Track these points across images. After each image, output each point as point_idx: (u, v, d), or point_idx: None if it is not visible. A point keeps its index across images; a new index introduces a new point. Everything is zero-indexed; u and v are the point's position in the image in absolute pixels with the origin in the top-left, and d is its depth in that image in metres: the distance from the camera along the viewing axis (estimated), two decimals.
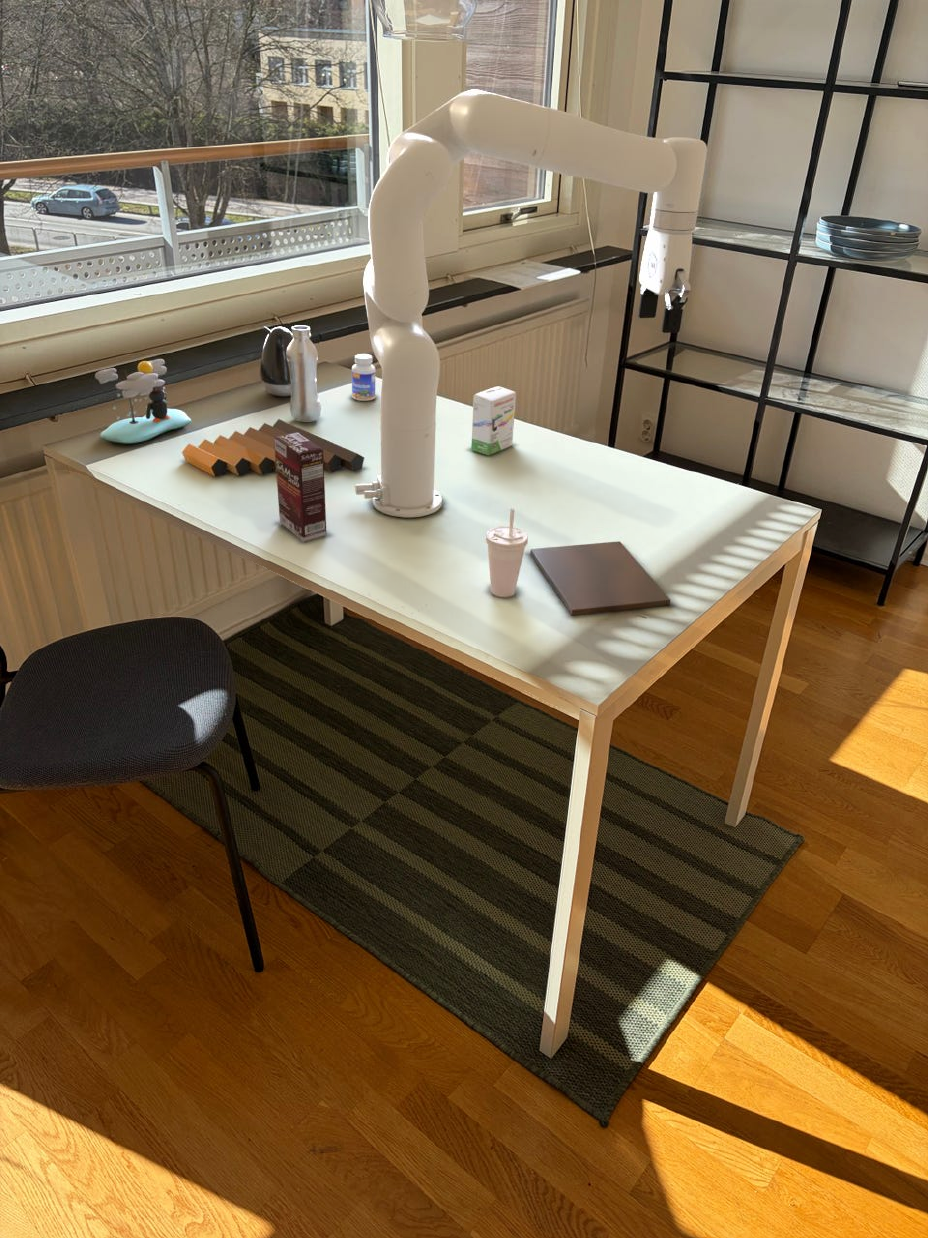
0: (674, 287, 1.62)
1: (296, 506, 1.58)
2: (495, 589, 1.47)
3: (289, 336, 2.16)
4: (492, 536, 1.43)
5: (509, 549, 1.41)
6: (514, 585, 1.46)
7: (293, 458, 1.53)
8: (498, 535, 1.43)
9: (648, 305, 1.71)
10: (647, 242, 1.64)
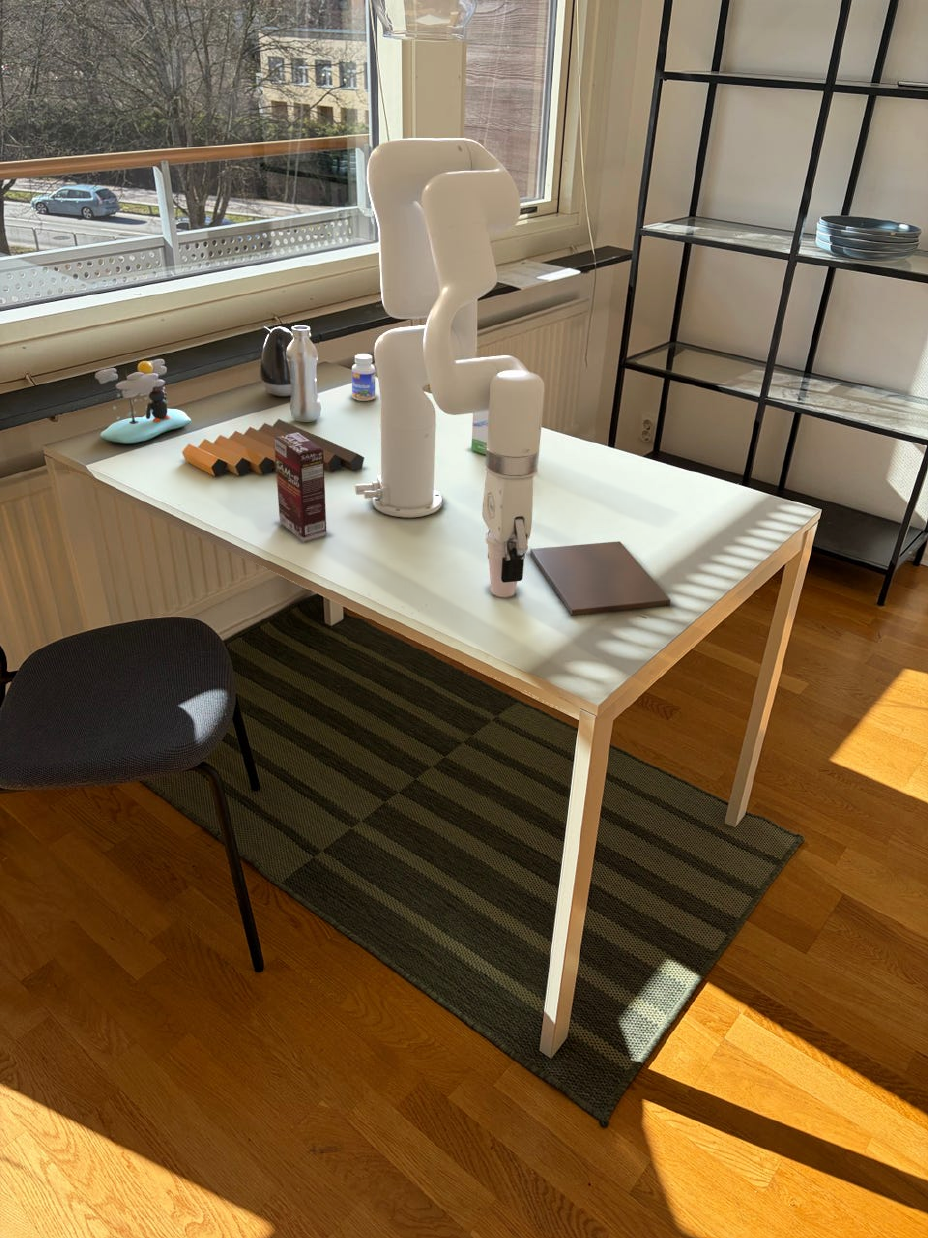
0: None
1: (296, 506, 1.58)
2: (495, 589, 1.47)
3: (289, 336, 2.16)
4: (492, 536, 1.43)
5: None
6: (514, 585, 1.46)
7: (293, 458, 1.53)
8: None
9: None
10: (486, 477, 1.41)
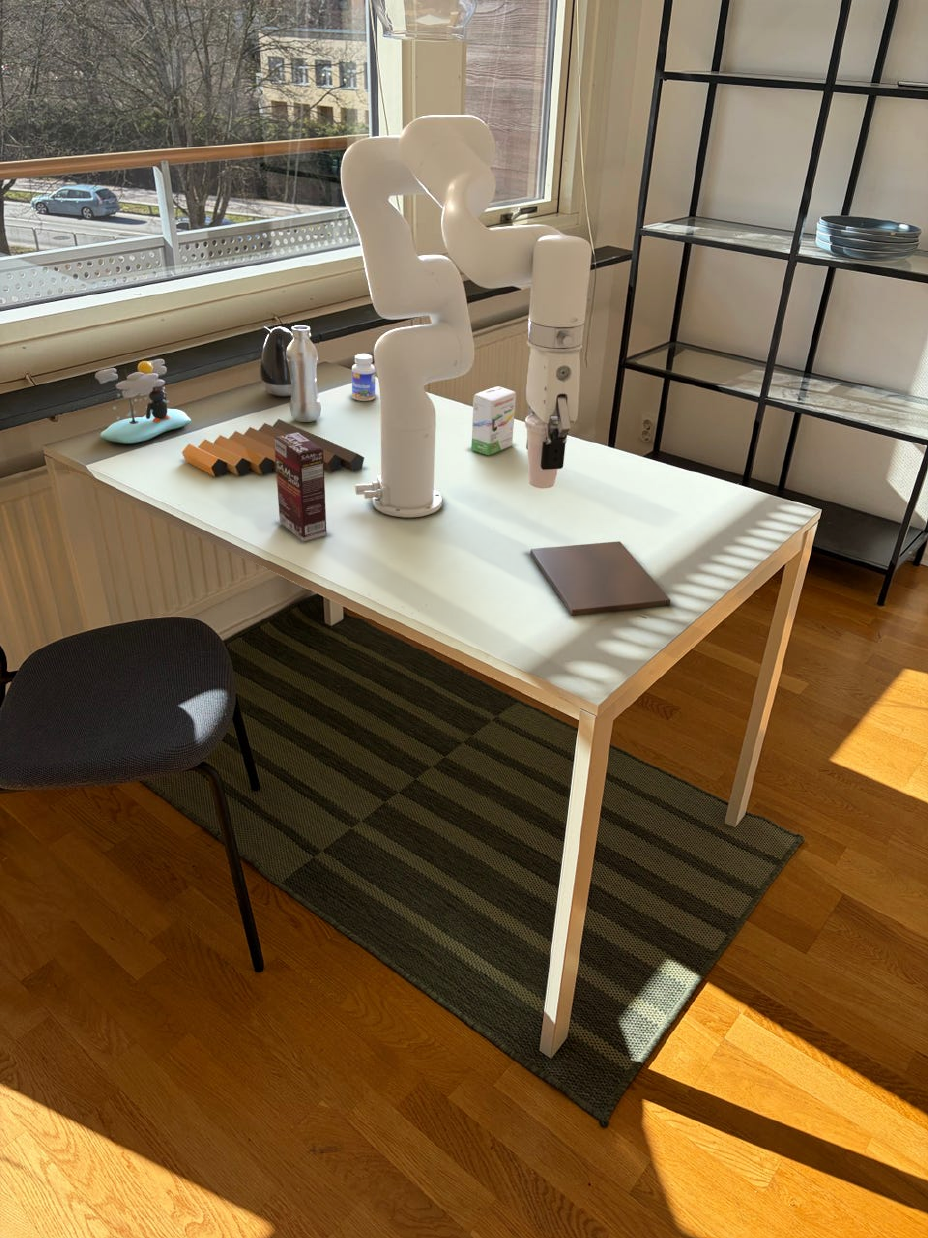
0: None
1: (296, 506, 1.58)
2: None
3: (289, 336, 2.16)
4: None
5: None
6: None
7: (293, 458, 1.53)
8: (556, 419, 1.36)
9: None
10: None
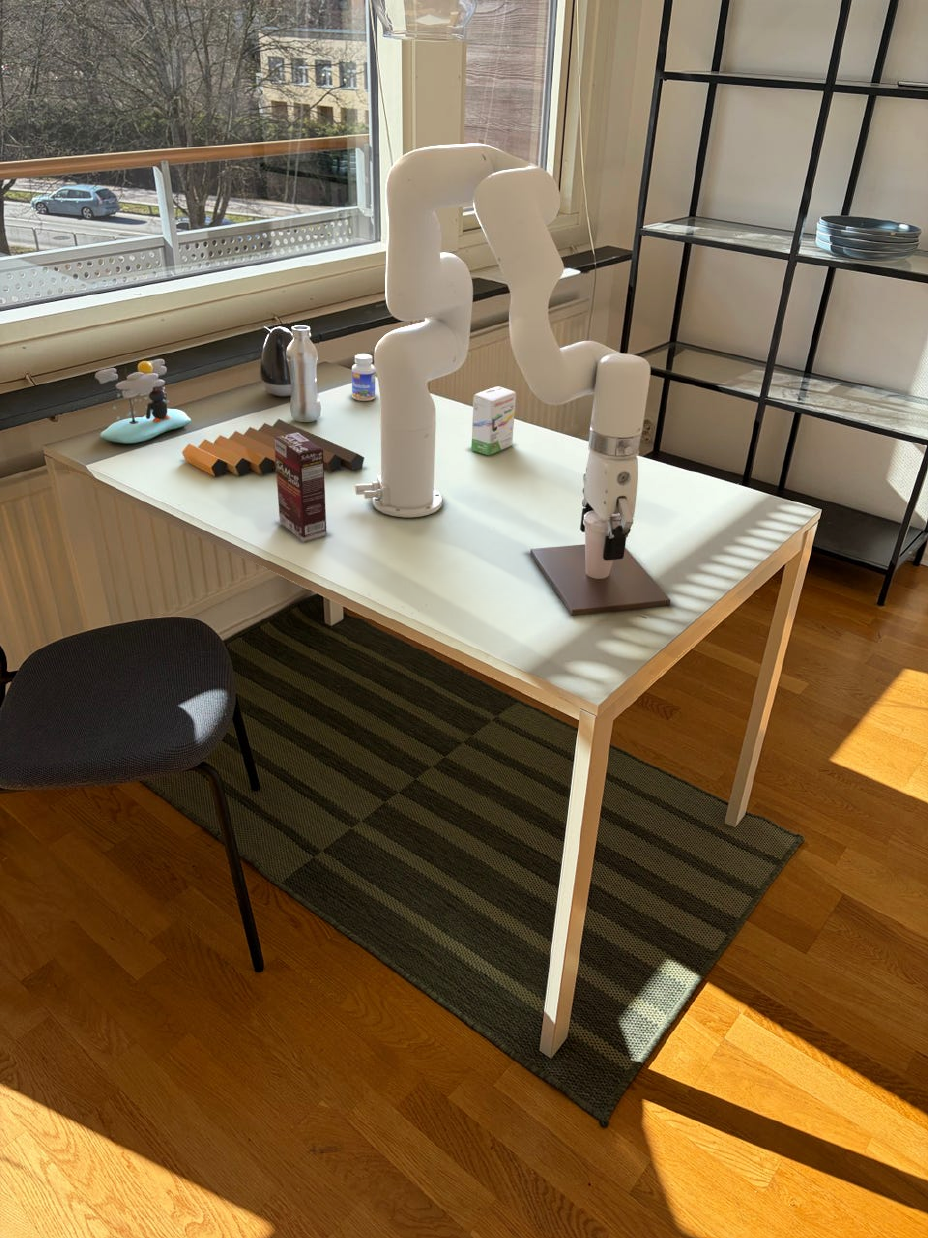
0: None
1: (296, 506, 1.58)
2: None
3: (289, 336, 2.16)
4: None
5: None
6: None
7: (293, 458, 1.53)
8: None
9: None
10: None
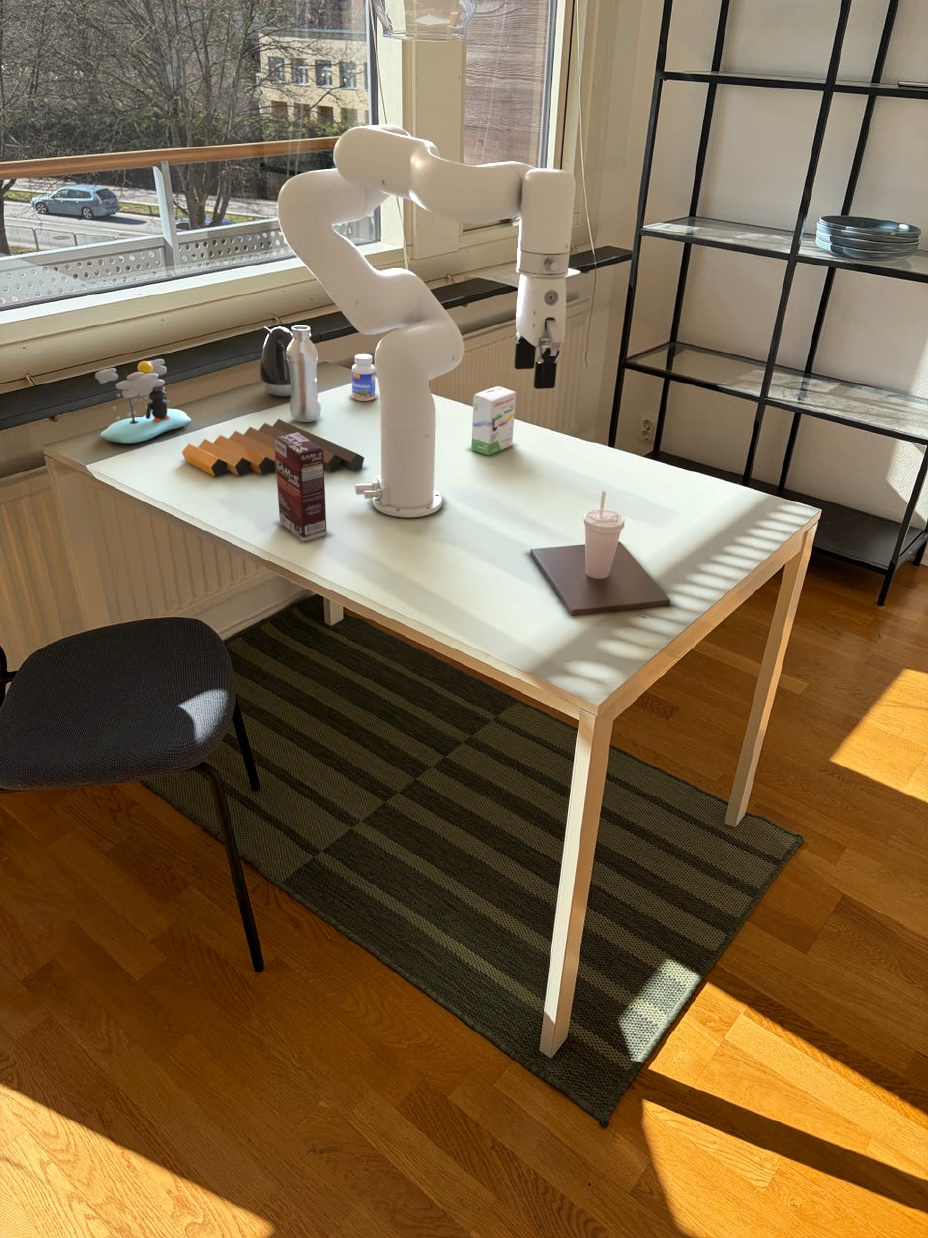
0: None
1: (296, 506, 1.58)
2: None
3: (289, 336, 2.16)
4: (617, 517, 1.48)
5: None
6: None
7: (293, 458, 1.53)
8: (612, 517, 1.48)
9: None
10: None
